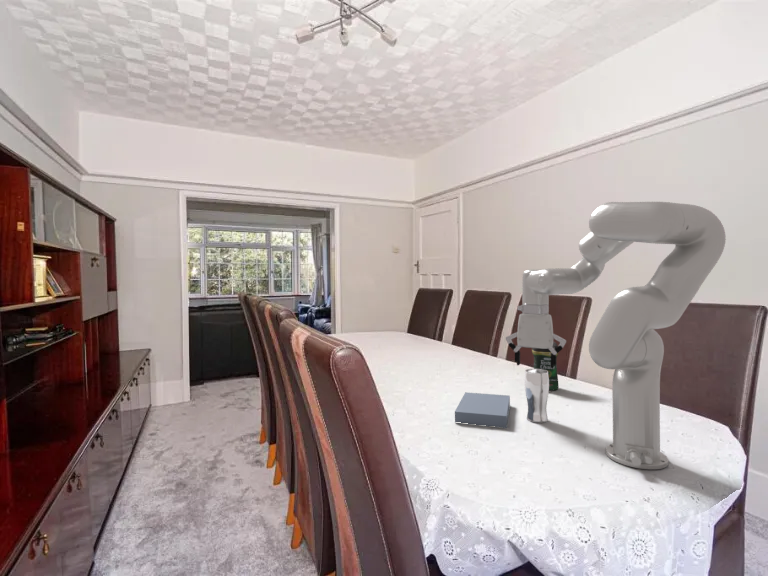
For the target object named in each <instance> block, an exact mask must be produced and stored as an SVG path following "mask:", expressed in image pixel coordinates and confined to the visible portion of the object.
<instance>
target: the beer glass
mask: <svg viewBox="0 0 768 576" xmlns="http://www.w3.org/2000/svg"><path fill="white" fill-rule="evenodd" d="M549 392H550V390H549V377H548V371H547V370H543V369H534V368H527V369H525V371H524V393H525V396H526V397H525V398H526V402H527V415H526V420H527V421H528V422H531V423H534V424H545V423H546V424H547V423H548V421H549V419H548V412H547V407H548V406H547V405H548V398H549Z"/></svg>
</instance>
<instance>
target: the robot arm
mask: <svg viewBox="0 0 768 576" xmlns="http://www.w3.org/2000/svg"><path fill="white" fill-rule="evenodd" d="M593 210H594V211H592V212H591V215H590V217H589V221H588V228H589V230H590V231H589V232H588V233H587V234H586V235H585V236H584V237H582V238H581V239H580V241H579V243H578V250H579V251H580V254H581V255H582V259H580V260H579V261H578V262H577V263H575V264H573V266H571V267H569V268H568V267H567V268H563V267H562V268H561V267H560V268H542V269H526V270H524V271H523V273H522V276H521V277H522V282H521V283H522V288H521V289H522V291H521V292H522V294H521V299H522V304H521V305H517V306H516V307H517V311H520V312H522V313H520V314H519V315H518V321H517V322H518V323H517V331H516V332H514V333H512V334H510V335H507V336H506V337H505V341H506V342H507V343H506V344H508V346H509V348H510V349H511V350H512V351H513V353H514V362H516V366H520V364H521V351H520V349H521V348H528V349H530V348H531V349H532V348H542V349H549V350H550V351H551V368H553V365H556V354H557V353H558V354H559V353H560V352H561V351H562V350H563V349H564V347H565V345H566V344H567V340H566V339H564V338H563V337H561V336H559V335H557V334H556V333H554V328H553V327H554V326H553V318H552V315H551V314H549V311H550V310H549V309H550V307H549V305H550V304H549V303H550V302H549V301H550V300H549V299H550V298H549V296H553V295H554V296H555V295H556V296H559V295H573V294H577V293H579V292H582V291H583V290H584V289H585V288H588V286H589V285H591V284H593V283H594V282H595V281H596V280H598V278H599V277H600V276H601V274H602V273H603V271H604V269H605V265H606V264H607V263H608V262H609V261H611V260H612V259H613V258H615V257H616V256H618V254H620V253H621V252H623V251H624V250H625V249H627V248H628V247H630V246H631V245H632V244H633V243H644V244H645V243H646V244H655V245H656V244H657V245H658V244H659V245H660V244H661V245H674V246H675V247H674V249H673V250H672V251H671V252H670V253H669V254H668V255H667V256H666V257H665V258H664V259H663V260H662V261H661V262H660V264H659V265H658V267H657V268H656V271H655V273H654V274H653V275H652V276H651V278H650V280H649V281H648V282H647V283H646V285H643V286H642V285H641V286H631V287H627V288H625V289H623V290H621V291H619V292H618V293H617V294H615V295H614V297H613V298H612V299H611V300H610V301H609V303H608V305H607V307H606V309H605V310H604V312H603V314H602V316H601V317H600V319H599V321H598V322H597V324H596V326H595V327H594V329H593V332H592V334H591V336H590V338H589V342H588V352H589V356H590V358H591V360H592V361H593V363H595V364H596V365H597V366H598V367H600V368H604V370H605V369H606V370H614V371H613V375H612V384H611V385H612V388H611V389H612V392H611V393H612V443H611V444H608V445H606V447H605V454H606V456H608V458H609V459H611V460H612V461H614V462H616V463H619V464H621V465H623V466H627V467H630V468H634V469H635V468H636V469H640V470H661V469H665V468H666V467H668V466H669V457H668V456H667V455H666V454H665V453H663V452H661V415H660V414H661V408H660V407H661V406H660V404H661V403H660V402H661V400H660V399H661V398H660V397H661V395H660V394H661V389H660V387H661V372H662V365H663V361H664V354H665V346H664V341H663V338H662V337H661V335H660V334H659V333H658V331H656V330H660V329H665V328H669V327H671V326H674V325H676V323H678V321H679V320H680V319H681V317H682V316H683V314H684V313H685V311H686V310H687V308H688V306H689V305H690V304H691V302H692V300H693V299H694V298H695V296H696V294H697V293H698V291H699V290H700V288H701V286H702V285H703V283H704V282H705V280H706V279H707V277H708V276H709V275H710V274H711V272H712V270H713V269H714V267H716V265H717V263H718V261H719V260H720V259H721V256H722V254H723V252H724V249H725V247H726V246H725V245H726V240H727V239H726V232H725V227H724V225H723V223H722V221H721V220H720V219H719V217H718V216H717V215H716V214H715V213H713V212H712V211H711V210H709V209H707V208H706V207H703V206H700V205H695V204H689V203H677V202H669V201H668V202H667V201H608V202H605V203H602V204H600V205H599V206H598V207H596V208H595V209H593ZM515 338H517V339H516V342H517V345H516V344H514V342H513V340H514V339H515ZM554 340H556V341H557V342H558V343H559V344H558V345H557V346H558V347H557V348H554V347H553V342H554Z"/></svg>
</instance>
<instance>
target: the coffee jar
mask: <svg viewBox="0 0 768 576" xmlns="http://www.w3.org/2000/svg"><path fill="white" fill-rule="evenodd" d="M558 346H559V345H558V343H556V341H553V347H554V348H557V347H558ZM531 353H532V355H533V369H543V370H547V371H548V377H549V391H556V390H558V389H559V377H558V368H557V366H558V365H557V361H558V360H557V358H558V355H559V352H558V353H557V354H556V365H553V368H551V351H550V350H549V349H542V348H531Z"/></svg>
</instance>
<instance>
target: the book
mask: <svg viewBox="0 0 768 576" xmlns="http://www.w3.org/2000/svg"><path fill="white" fill-rule="evenodd" d="M510 397H511V396H510V395H508V394H507V395H506V394H494V393H478V392H464V393H463V395H462V398H461V399H460V401H459V403H458V405H457V407H456V409H455V410H454V423H455V422H461V423H468V424H467V425H469V424H476V425H475V426H479V425H486V426H485V427H489V426H495V427H494V428H499V427H503V428H502V429H508V423H509V414H510V409H509V408H511V399H510Z"/></svg>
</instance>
